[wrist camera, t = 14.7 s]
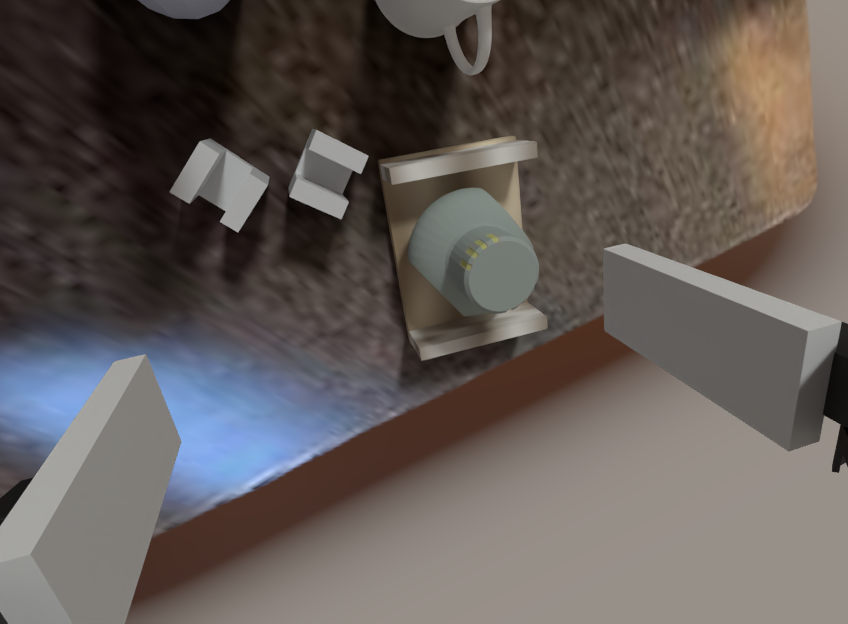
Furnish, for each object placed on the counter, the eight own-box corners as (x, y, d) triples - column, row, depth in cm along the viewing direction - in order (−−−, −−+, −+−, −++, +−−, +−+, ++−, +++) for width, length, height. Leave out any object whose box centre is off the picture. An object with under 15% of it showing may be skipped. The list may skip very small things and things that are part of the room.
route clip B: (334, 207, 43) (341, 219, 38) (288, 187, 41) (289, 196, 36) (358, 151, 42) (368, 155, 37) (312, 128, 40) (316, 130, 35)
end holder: (409, 341, 49) (422, 363, 44) (377, 159, 42) (388, 164, 38) (524, 312, 51) (547, 331, 47) (510, 135, 45) (536, 137, 40)
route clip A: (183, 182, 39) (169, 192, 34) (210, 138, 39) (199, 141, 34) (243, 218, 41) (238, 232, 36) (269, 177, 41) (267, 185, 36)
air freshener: (385, 236, 44) (412, 267, 35) (454, 167, 43) (500, 180, 34) (464, 315, 48) (506, 361, 39) (527, 254, 48) (585, 285, 39)
